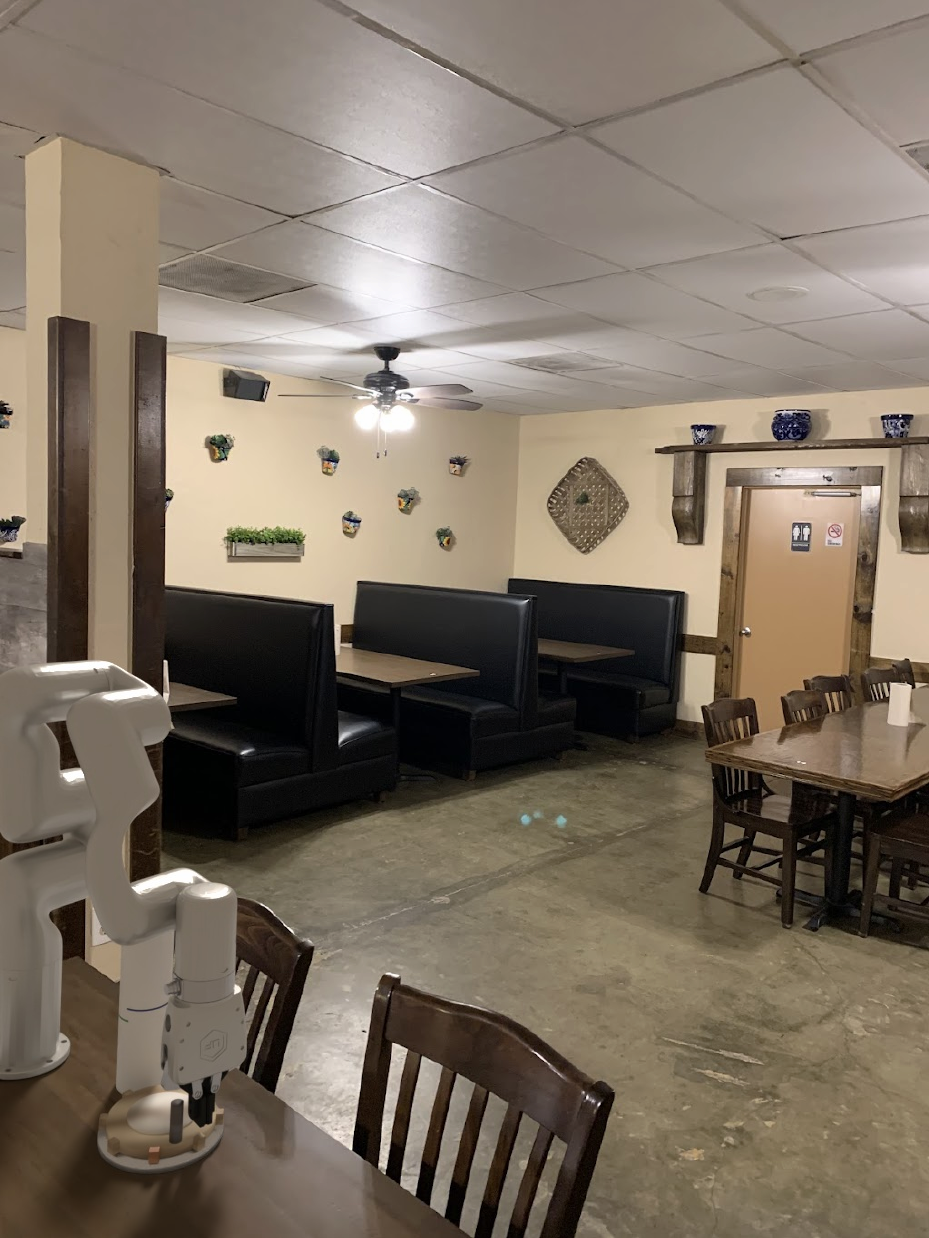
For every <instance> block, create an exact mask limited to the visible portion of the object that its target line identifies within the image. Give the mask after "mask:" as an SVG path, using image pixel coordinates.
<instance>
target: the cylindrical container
mask: <svg viewBox="0 0 929 1238" xmlns="http://www.w3.org/2000/svg"><path fill="white" fill-rule="evenodd" d="M120 946H121V948H120V968H119V969H120V970H119V971H120V972H119V975H120V977H119V994H118V995H119V997H118V1000H119V1001H118V1023H117V1025H118V1026H117V1049H116V1072H115V1073H116V1074H115V1075H116V1078H115V1081H116V1082H115V1087H116V1091H118V1092H119V1093H120V1094H121V1095H122V1093H123V1092H125V1091H127V1090H129V1089H130V1090H132V1091H133V1092H135V1091H137V1090H140V1089H142V1088H146V1087H149V1086H154V1085H160V1084H161V1079H162V1075H163V1070H162V1069H161V1062H160V1057H161V1041H162V1031H163V1024H164V1018H165V1013H166V1009H167V1004H168V1001H169V997H170V996H171V995H172V994H170V995H166V994H165V992H164V985H165V984H169V983H170V982H172V980H173V971H174V952H175V930H174V931H170V932H167V933H164V934H162V935H160V936H157V937H155V938H152V939H150V940H147V941H145V942H142V943H139V944H136V945H132V946H122V945H120Z"/></svg>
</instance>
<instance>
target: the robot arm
mask: <svg viewBox="0 0 929 1238" xmlns="http://www.w3.org/2000/svg"><path fill="white" fill-rule="evenodd" d="M171 715H172V714H171V711H170V708H169V705H168V704H167V701H166V700H165V699H164V697H163V695H161V694H160V693H159V691H157V690H156V689H155V688H154V687H152V686H151V685H150V684H149V683H147V682H145V681H144V680H142V679H141V678H139V677H137V676H135V675H133V674H132V673H130V672H128V671H126V670H125V669H123V668H122V667H120V666H118V665H116V664H115V663H112V662H109V661H107V660H99V659H88V660H87V659H86V660H77V661H63V662H62V661H59V662H44V663H35V664H28V665H22V666H17V667H14V668H12V669H11V668H10V669H9V670H6V671H4V672H2V673H1V674H0V834H1V836H2V837H3V839H4V840H6V841H8V842H9V843H14V844H26V843H31V842H36V841H37V842H38V841H40V840H45V839H50V838H52V837H53V838H54V837H57V836H60V835H62V838H63V839H62V840H59V841H55V842H52V843H48V844H42V845H38V846H35V847H32V848H27V849H24V850H19V851H17V852H14V853H11V854H9V855H6V856H5V857H3V858H1V859H0V1080H5V1081H6V1080H7V1081H9V1080H10V1081H11V1080H12V1081H13V1080H23V1079H29V1078H33V1077H36V1076H37V1077H38V1076H41V1075H43V1074H45V1073H49V1072H50V1071H53V1070H54V1069H55V1068H58V1067H59V1066H60V1065H62V1064H63V1063H64V1062H65V1061H66V1059H67V1058H68V1057H69V1055H70V1053H71V1041H70V1039H69V1038H68V1037H67V1036H66V1035H65V1034H64V1033H62V1032H61V1008H62V1007H61V1003H62V1002H61V1001H62V999H61V998H62V977H63V976H62V973H63V937H62V934H61V932H60V929H58V927H57V926H56V924H54V923H53V922H52V920H51V918H50V912H52V911H53V910H57V909H59V908H62V907H64V906H67V905H71V904H73V903H75V902H80V901H81V900H85V899H88V898H89V899H90V901H91V904H92V907H93V910H94V912H95V915H96V918H97V920H98V922H99V925H100V926H101V929H102V930H103V932H104V933H105V935H106V936H107V938H109V940H111V941H112V942H114V943H115V944H116V945H119V946H121V945H122V946H132V945H136V944H139V943H142V942H145V941H147V940H150V939H152V938H155V937H157V936H160V935H162V934H164V933H167V932H170V931H174V932H175V933H174V973H172V982H170V983H169V984H165V985H164V992H165V994H166V995H170V994H172V995H171V996H170V997H169V1001H168V1004H167V1009H166V1013H165V1018H164V1024H163V1031H162V1041H161V1057H160V1062H161V1069H162V1070H163V1075H162V1079H161V1086H162V1087H163V1088H164V1089H165V1090H166V1091H170V1090H178V1089H182V1090H184V1091H185V1092H187V1093H188V1115H189V1118H190V1119H191V1120H193V1121H194V1122H195V1123H196V1124H197V1125H198V1126H199V1127H200V1128H202V1127H204V1126H205V1125H206V1124H207V1125H209V1124H212V1118H213V1112H214V1111H215V1102H216V1093H217V1092H218V1091H219V1090H220V1086H221V1082H223V1080H224V1079H225V1077H226V1076H227V1074H228V1073H229V1072H231V1071H233V1070H235V1069H236V1068H238V1067H239V1066H241V1065H242V1063H243V1062H244V1061H245V1059H246V1057H247V1049H248V1048H247V1044H248V1040H247V1020H246V1014H245V1013H246V1012H245V1004H244V997H243V994H242V989H241V987H240V986H239V985H238V984H236V955H237V954H236V951H237V921H238V920H237V919H238V897H237V896H238V895H237V893H236V891H235V890H234V889H233V888H232V887H231V886H229V885H227V884H226V883H225V884H224V883H220V882H212V881H210V880H209V879H208V878H206V877H204V876H203V875H202V874H201V873H199V872H197V871H195V870H194V869H191V868H188V867H178V868H177V867H176V868H173V869H170V870H167V871H163V872H160V873H158V874H154V875H151V876H147V877H145V878H141V879H138V880H136V881H132V882H130V879H129V876H128V873H127V871H126V868H125V863H124V860H123V859H124V858H123V846H124V845H123V844H124V840H125V836H126V833H127V831H128V829H129V827H130V826H131V825H132V822H133V821H134V820H135V819H136V817H137V816H139V815H140V814H141V813H143V811H145V810H146V809H148V808H149V807H150V806H152V804H153V803H155V802H156V801H157V799H158V797H159V796H160V791H161V790H160V785H159V783H158V780H157V778H156V775H155V771H154V770H153V767H152V765H151V762H150V759H149V757H148V753H147V751H146V749H145V747H146V746H151V745H155V744H158V743H160V742H162V741H163V740H165V738H166V737H167V736H168V734H169V732H170V731H171V726H172V716H171ZM63 721H65V724H66V729H67V732H68V736H69V739H70V742H71V744H72V747H73V751H74V753H75V756H76V758H77V761H78V765H79V766H80V767H73V768H65V769H62V770H61V765H60V764H61V761H60V760H61V757H60V756H61V752H60V751H61V750H60V744H59V742H58V739H57V738H56V736H55V734H54V733H53V731H52V729H51V728H50V727H49V726H48V724H46V723H54V722H63Z"/></svg>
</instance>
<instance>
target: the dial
mask: <svg viewBox="0 0 929 1238" xmlns="http://www.w3.org/2000/svg"><path fill="white" fill-rule="evenodd" d="M216 1105H217V1102H216V1101H215V1111H214V1112H213V1118H212V1124H209V1125H207V1124H206V1125H205V1126H204V1127H202V1128H200V1127H199V1126H198V1125H197V1124H196V1123H195V1122H194V1121H193V1120H191V1119H190V1118H189V1115H188V1093H187V1092H185V1091H184V1090H182V1089H178V1090H170V1091H166V1090H165V1089H164V1088H163V1087H162V1086H161V1084H160V1085H154V1086H149V1087H146V1088H142V1089H140V1090H137V1091H135V1092H133V1091H132V1090H130V1089H129V1090H127V1091H125V1092H123V1093H122V1094H121V1098H120V1099H119V1100H118V1101H117V1102H115V1104H114V1105H113V1106H112V1107H111V1108H110V1109H109V1111H108V1113H107V1112H106V1113H100V1115H99V1119H98V1131H99V1130H106V1137H107V1152H108V1153H110V1154H111V1155H112V1156H113V1155H115V1154H117V1153H118V1152H120V1153H122V1154H125V1155H127V1156H131V1157H136V1158H144V1159H148V1164H150V1163H158V1162H159V1158H165V1157H170V1156H174V1155H178V1154H181V1153H184V1152H186V1151H189V1150H191V1149H194V1150H196V1151H199V1150H201V1149H203V1148H204V1147H205V1140H206V1139H207V1138H208V1137H209V1136H210V1135H211V1133H212V1132H213V1130H214V1128H215V1125H223V1119H224V1120H225V1118H224V1117H225V1116H224V1114H225V1108H219V1109H217V1106H218V1105H217V1106H216Z"/></svg>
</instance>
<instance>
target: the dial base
mask: <svg viewBox="0 0 929 1238" xmlns="http://www.w3.org/2000/svg"><path fill="white" fill-rule="evenodd" d="M216 1106H217V1109H220V1107H219V1106H218V1105H217V1104H216ZM224 1122H225V1118H224V1119H223V1125H215V1128H214V1130H213V1132H212V1133H211V1135H210V1136H209V1137H208V1138H207V1139H206V1140H205V1147H204V1148H203V1149H201V1150H199V1151H196V1150H194V1149H191V1150H189V1151H186V1152H184V1153H181V1154H178V1155H174V1156H170V1157H165V1158H159V1162H158V1163H150V1164H148V1159H144V1158H136V1157H131V1156H127V1155H125V1154H122V1153H120V1152H118V1153H117V1154H115V1155H113V1156H112V1155H111V1154H110V1153H108V1152H107V1137H106V1130H99V1129H98V1131H97V1144H96V1145H97V1151H98V1153H99V1155H100V1156H101V1158H102V1159H103V1161H105V1163H107V1164H108V1165H110V1166H112V1167H113V1168H116V1169H118V1170H120V1171H124V1172H128V1173H132V1174H140V1175H141V1174H142V1175H146V1174H147V1175H152V1174H162V1173H163V1174H164V1173H168V1172H173V1171H177V1170H180V1169H183V1168H186V1167H189V1166H190V1165H191V1166H192V1165H193V1164H195V1163H197V1162H199V1161H200V1160H202V1159H204V1158H205V1157H207V1156H208V1155H209V1154H210V1153H211V1152H213V1151H214V1149H216V1148H217V1147H218V1144H219V1143H221V1140H222V1137H223V1135H224V1126H225V1123H224Z"/></svg>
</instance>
